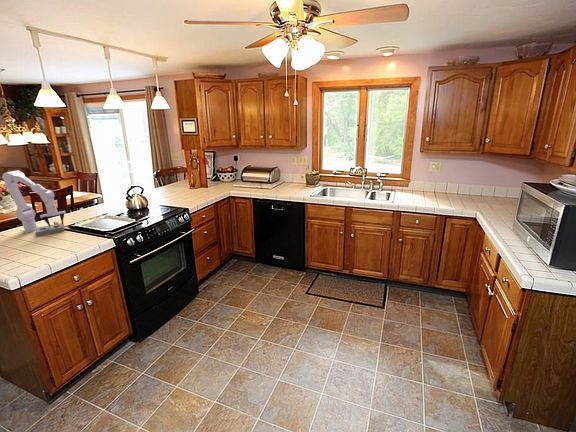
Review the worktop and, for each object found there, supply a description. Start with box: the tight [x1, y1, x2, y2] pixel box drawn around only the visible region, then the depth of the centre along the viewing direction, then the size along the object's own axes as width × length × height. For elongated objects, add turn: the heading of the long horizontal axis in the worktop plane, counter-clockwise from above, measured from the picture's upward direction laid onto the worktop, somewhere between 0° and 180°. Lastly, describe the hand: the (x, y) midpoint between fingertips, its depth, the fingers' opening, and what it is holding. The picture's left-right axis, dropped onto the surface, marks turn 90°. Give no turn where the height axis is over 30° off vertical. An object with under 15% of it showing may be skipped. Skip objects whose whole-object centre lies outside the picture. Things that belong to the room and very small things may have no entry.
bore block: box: [34, 222, 65, 237], centre depth 216 cm, size 12×16×3 cm
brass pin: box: [53, 221, 60, 227], centre depth 217 cm, size 2×2×6 cm
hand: (56, 225), depth 217 cm, fingers open, 7 cm apart
